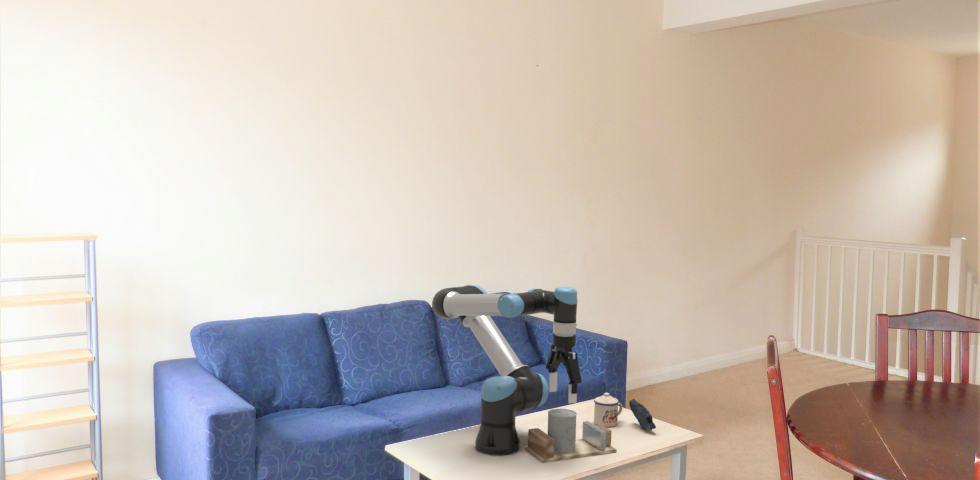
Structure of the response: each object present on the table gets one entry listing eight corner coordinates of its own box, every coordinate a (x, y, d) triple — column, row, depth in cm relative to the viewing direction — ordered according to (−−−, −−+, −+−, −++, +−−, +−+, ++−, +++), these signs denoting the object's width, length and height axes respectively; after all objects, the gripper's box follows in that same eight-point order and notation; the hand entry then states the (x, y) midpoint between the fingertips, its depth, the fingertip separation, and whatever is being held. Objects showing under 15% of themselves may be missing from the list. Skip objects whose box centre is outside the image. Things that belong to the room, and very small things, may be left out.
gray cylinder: (575, 444, 264) (576, 409, 263) (575, 454, 254) (576, 418, 253) (547, 443, 265) (548, 407, 264) (546, 453, 255) (547, 416, 254)
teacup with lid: (603, 428, 284) (604, 397, 283) (588, 421, 292) (589, 391, 291) (629, 424, 290) (630, 394, 289) (613, 417, 298) (614, 387, 297)
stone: (662, 432, 281) (663, 405, 281) (651, 435, 278) (652, 408, 277) (632, 422, 292) (633, 396, 291) (621, 425, 288) (622, 399, 288)
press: (542, 462, 249) (542, 441, 249) (524, 449, 261) (525, 429, 261) (616, 452, 260) (617, 431, 260) (596, 439, 272) (597, 420, 272)
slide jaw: (600, 450, 258) (601, 432, 258) (582, 438, 269) (582, 421, 269) (615, 447, 261) (616, 430, 260) (597, 436, 272) (597, 419, 271)
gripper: (593, 341, 246) (591, 406, 248) (556, 326, 269) (554, 386, 271) (573, 342, 243) (570, 408, 245) (537, 327, 266) (535, 387, 268)
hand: (562, 397), depth 258 cm, fingers open, 13 cm apart
